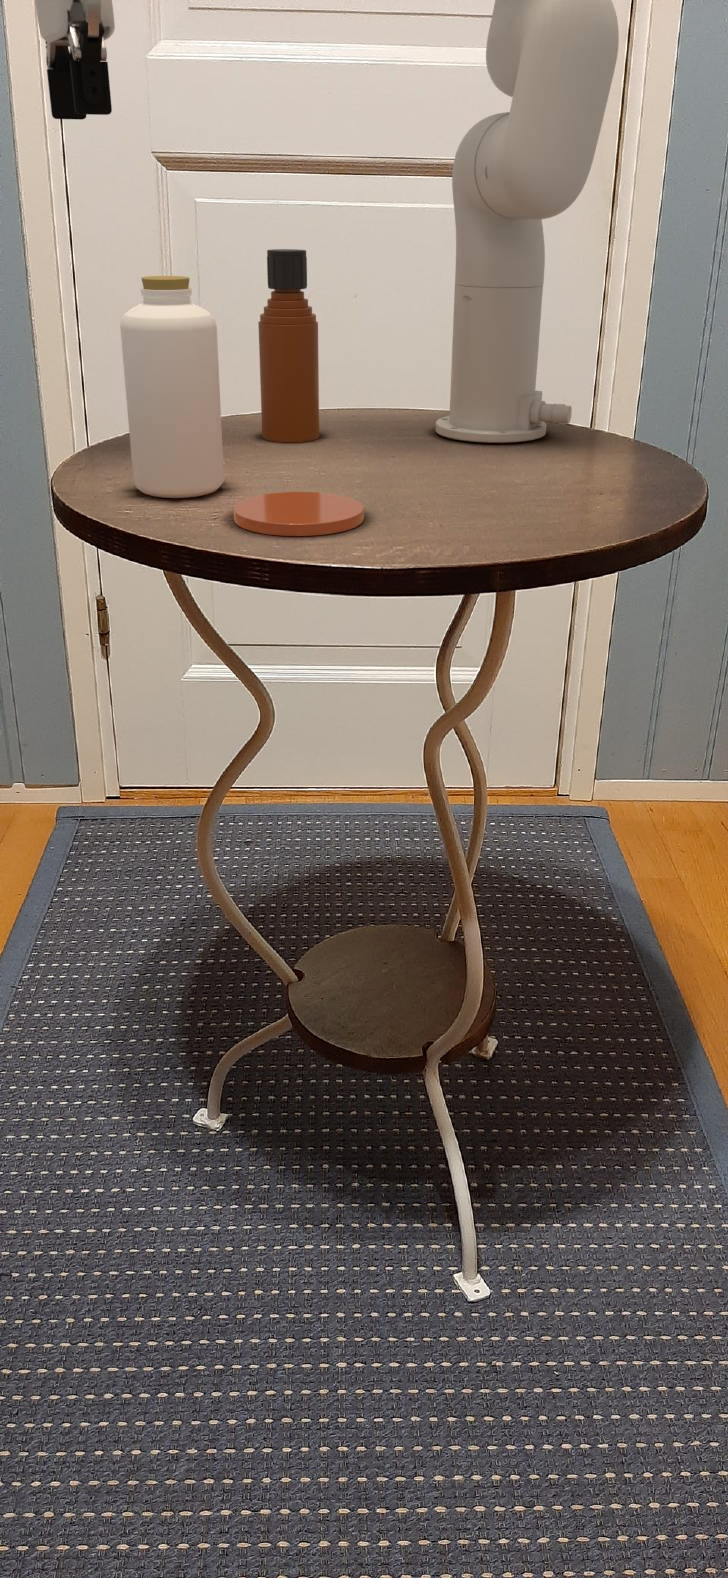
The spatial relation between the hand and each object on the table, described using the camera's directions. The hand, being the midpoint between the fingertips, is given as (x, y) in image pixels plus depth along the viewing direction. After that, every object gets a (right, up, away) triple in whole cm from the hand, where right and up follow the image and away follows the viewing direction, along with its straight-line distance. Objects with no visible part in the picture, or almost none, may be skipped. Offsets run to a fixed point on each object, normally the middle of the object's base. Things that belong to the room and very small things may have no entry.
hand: (81, 116), depth 106 cm
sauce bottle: (+18, -22, +23) cm, 37 cm away
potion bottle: (+9, -34, +1) cm, 36 cm away
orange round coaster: (+20, -39, -8) cm, 45 cm away
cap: (+18, -9, +16) cm, 26 cm away
